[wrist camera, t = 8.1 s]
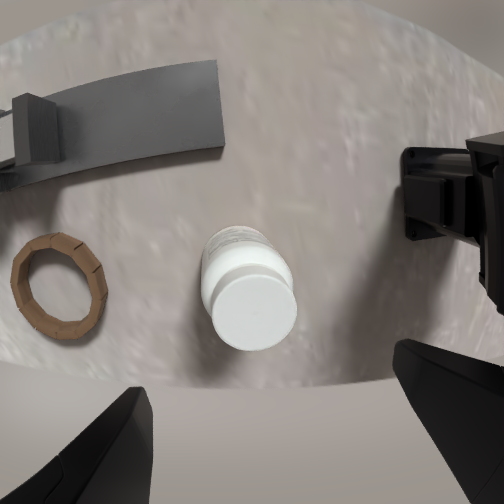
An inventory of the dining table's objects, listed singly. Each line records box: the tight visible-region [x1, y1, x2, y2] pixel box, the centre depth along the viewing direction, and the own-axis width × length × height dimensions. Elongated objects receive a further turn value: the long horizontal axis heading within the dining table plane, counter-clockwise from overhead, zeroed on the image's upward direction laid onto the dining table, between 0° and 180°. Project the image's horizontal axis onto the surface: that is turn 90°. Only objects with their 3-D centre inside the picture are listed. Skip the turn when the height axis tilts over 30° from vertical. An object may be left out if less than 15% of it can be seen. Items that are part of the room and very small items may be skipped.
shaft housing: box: [0, 60, 225, 194], centre depth 14 cm, size 24×5×5 cm, turn 96°
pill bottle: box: [201, 226, 297, 351], centre depth 16 cm, size 4×4×8 cm
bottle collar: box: [10, 232, 108, 340], centre depth 18 cm, size 7×7×2 cm
